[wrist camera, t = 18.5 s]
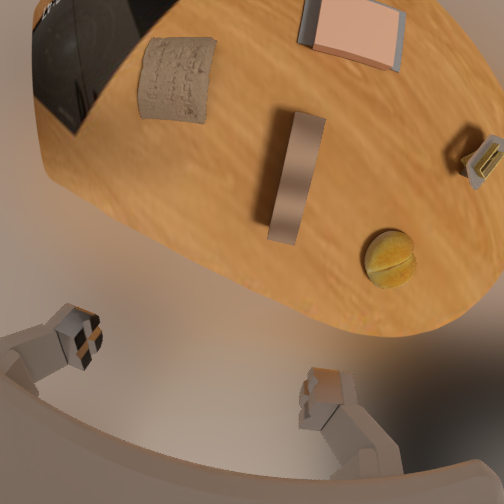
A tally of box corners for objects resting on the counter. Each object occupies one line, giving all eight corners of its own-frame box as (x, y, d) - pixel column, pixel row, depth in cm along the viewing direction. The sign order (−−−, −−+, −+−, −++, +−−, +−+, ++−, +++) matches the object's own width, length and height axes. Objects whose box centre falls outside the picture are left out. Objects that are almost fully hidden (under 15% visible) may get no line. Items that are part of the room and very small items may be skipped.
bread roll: (406, 221, 38) (417, 231, 34) (414, 272, 41) (424, 285, 37) (356, 238, 40) (363, 250, 36) (368, 288, 43) (375, 302, 39)
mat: (308, -16, 25) (308, -17, 24) (405, 13, 24) (405, 12, 24) (297, 43, 29) (297, 42, 29) (398, 72, 29) (399, 72, 29)
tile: (312, 49, 29) (321, -3, 25) (385, 70, 29) (391, 18, 25) (314, 43, 26) (324, -12, 23) (393, 67, 26) (399, 11, 22)
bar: (294, 113, 34) (295, 111, 29) (320, 119, 34) (325, 118, 29) (269, 226, 41) (267, 239, 36) (293, 231, 41) (294, 245, 36)
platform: (413, 162, 34) (434, 169, 28) (476, 89, 27) (501, 88, 21) (454, 218, 36) (475, 234, 31) (511, 148, 30) (536, 154, 24)
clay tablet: (153, 35, 30) (145, 31, 28) (221, 32, 30) (216, 26, 27) (142, 126, 37) (133, 127, 34) (208, 129, 36) (202, 129, 34)
